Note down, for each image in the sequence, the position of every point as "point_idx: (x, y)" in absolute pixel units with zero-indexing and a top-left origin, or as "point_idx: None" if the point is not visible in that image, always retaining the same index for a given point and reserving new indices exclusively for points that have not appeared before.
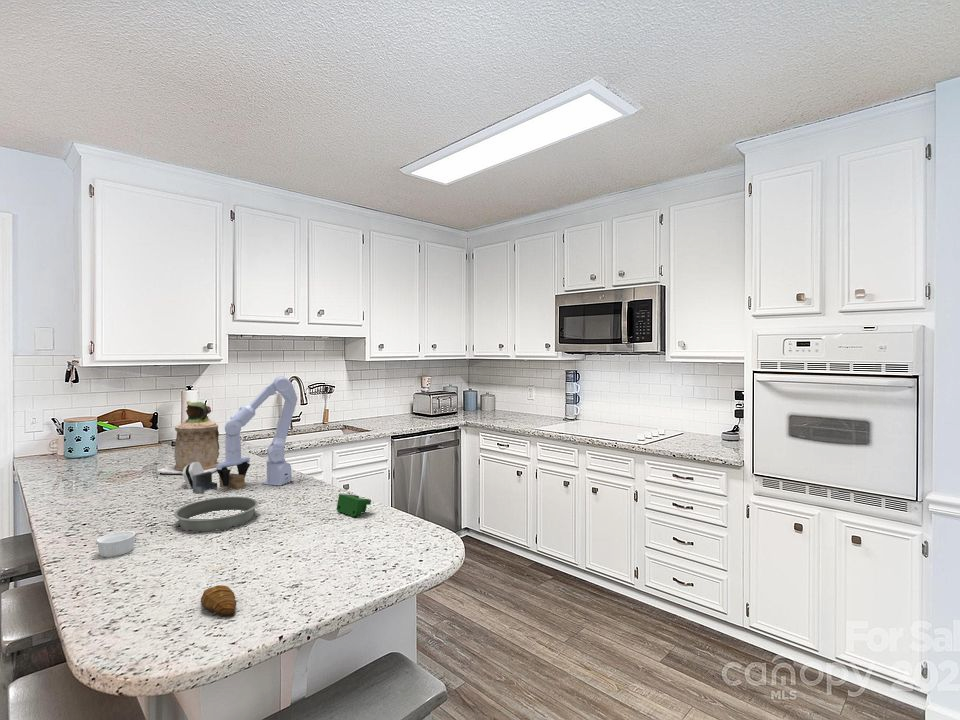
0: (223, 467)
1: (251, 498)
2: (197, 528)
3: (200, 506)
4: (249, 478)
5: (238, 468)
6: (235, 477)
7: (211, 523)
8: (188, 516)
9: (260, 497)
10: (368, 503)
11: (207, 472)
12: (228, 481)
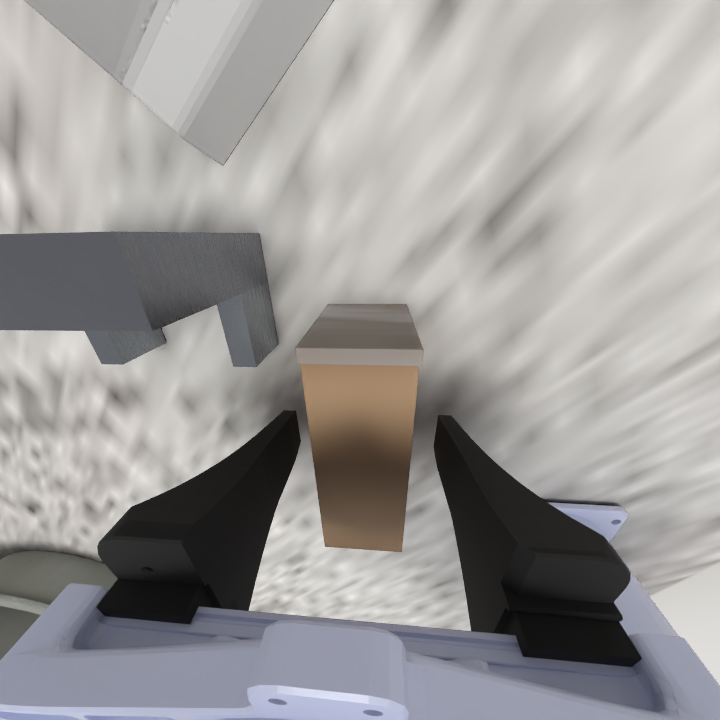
0: (156, 635)
1: None
2: (26, 620)
3: (33, 584)
4: (675, 307)
5: (483, 516)
6: (324, 526)
7: None
8: (13, 558)
9: (300, 590)
10: None
11: (86, 276)
12: (285, 477)
